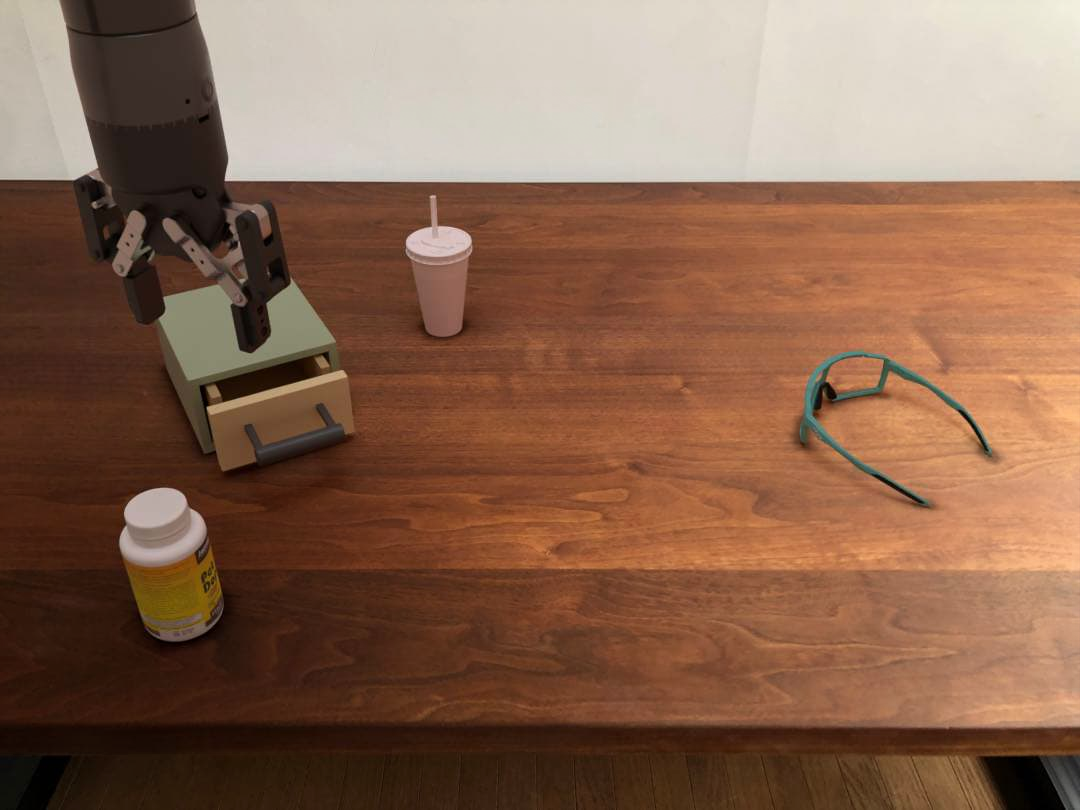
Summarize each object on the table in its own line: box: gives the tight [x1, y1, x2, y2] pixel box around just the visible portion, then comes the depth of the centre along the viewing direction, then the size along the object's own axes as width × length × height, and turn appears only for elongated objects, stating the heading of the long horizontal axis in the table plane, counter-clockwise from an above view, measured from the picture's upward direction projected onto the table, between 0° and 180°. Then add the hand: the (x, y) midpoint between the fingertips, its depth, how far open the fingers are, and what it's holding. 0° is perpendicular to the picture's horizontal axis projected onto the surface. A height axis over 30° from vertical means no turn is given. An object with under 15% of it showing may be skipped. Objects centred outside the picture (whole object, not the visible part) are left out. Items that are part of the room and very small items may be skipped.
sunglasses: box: [799, 350, 993, 507], centre depth 90 cm, size 14×15×5 cm
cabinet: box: [154, 272, 341, 455], centre depth 95 cm, size 15×13×8 cm
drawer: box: [199, 353, 355, 472], centre depth 90 cm, size 18×11×6 cm, turn 28°
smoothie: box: [405, 194, 473, 338], centre depth 102 cm, size 6×6×14 cm
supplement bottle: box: [118, 487, 225, 643], centre depth 72 cm, size 6×6×10 cm
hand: (202, 332), depth 71 cm, fingers open, 8 cm apart
